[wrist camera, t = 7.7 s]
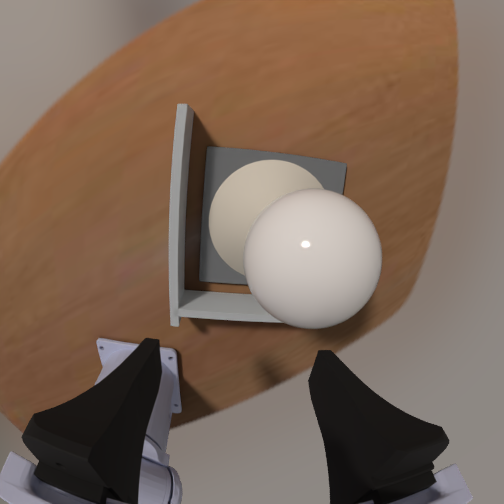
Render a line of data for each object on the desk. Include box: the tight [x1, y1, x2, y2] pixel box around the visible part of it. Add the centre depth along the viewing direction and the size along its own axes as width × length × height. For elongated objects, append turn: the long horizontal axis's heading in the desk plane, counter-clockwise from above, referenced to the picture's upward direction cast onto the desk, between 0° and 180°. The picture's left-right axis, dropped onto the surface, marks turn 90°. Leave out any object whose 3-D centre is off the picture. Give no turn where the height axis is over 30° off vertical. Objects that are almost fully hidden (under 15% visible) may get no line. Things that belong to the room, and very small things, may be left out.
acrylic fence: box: [169, 104, 283, 326], centre depth 19 cm, size 15×12×3 cm
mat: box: [199, 146, 347, 285], centre depth 20 cm, size 10×10×1 cm
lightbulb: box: [243, 188, 382, 329], centre depth 15 cm, size 6×6×11 cm
